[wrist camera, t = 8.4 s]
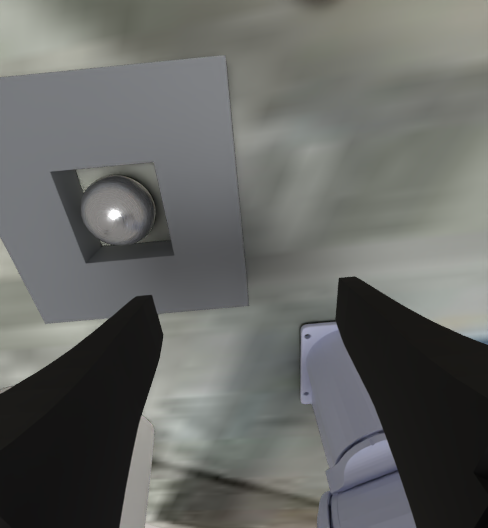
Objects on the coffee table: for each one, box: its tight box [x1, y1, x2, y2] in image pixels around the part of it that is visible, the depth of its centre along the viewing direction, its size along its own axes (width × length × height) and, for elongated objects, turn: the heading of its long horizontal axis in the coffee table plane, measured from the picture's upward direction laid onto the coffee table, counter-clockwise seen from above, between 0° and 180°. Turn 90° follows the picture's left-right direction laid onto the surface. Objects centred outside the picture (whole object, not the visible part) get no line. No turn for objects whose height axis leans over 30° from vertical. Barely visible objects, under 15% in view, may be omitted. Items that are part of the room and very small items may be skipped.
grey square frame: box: [0, 55, 249, 324], centre depth 18 cm, size 14×14×2 cm
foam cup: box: [119, 416, 155, 528], centre depth 24 cm, size 10×9×13 cm
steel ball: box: [81, 175, 156, 246], centre depth 17 cm, size 4×4×4 cm
